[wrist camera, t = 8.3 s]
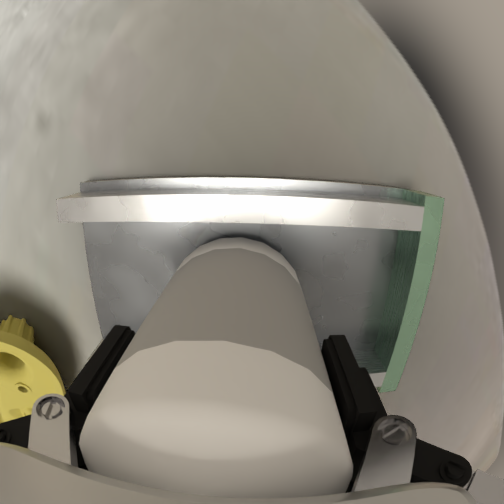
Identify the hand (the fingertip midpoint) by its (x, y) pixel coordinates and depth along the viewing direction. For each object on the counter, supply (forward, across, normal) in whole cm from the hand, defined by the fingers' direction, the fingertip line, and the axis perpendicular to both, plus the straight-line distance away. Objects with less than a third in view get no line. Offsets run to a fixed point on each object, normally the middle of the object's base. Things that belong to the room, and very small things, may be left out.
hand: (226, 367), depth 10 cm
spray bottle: (+6, 0, 0) cm, 6 cm away
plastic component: (+8, +20, +11) cm, 24 cm away
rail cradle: (+8, 0, 0) cm, 8 cm away
